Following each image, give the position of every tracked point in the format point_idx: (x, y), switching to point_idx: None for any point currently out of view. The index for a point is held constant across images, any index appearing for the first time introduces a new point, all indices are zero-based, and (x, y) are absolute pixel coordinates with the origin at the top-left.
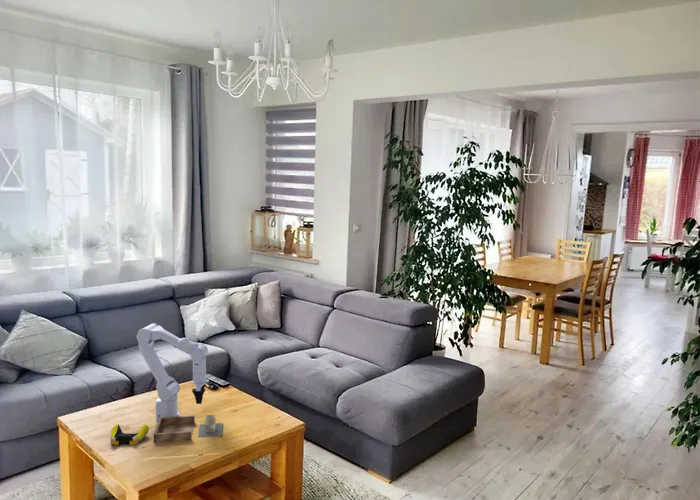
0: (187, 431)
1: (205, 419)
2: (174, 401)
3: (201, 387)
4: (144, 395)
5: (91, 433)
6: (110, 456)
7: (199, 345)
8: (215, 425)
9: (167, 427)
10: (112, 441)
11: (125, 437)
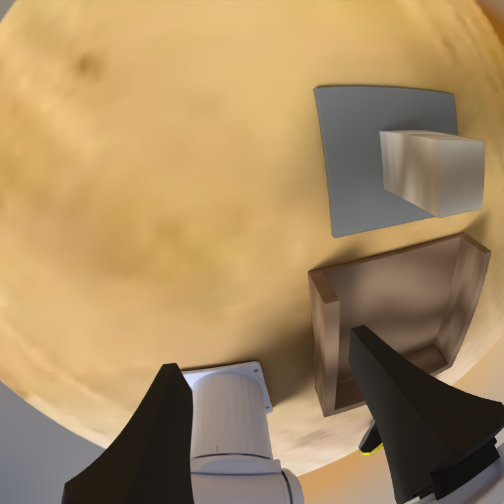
0: (483, 269)
1: (481, 207)
2: (252, 448)
3: (164, 467)
4: (101, 444)
5: (331, 456)
6: None
7: None
8: (353, 134)
9: (344, 363)
10: None
11: None
